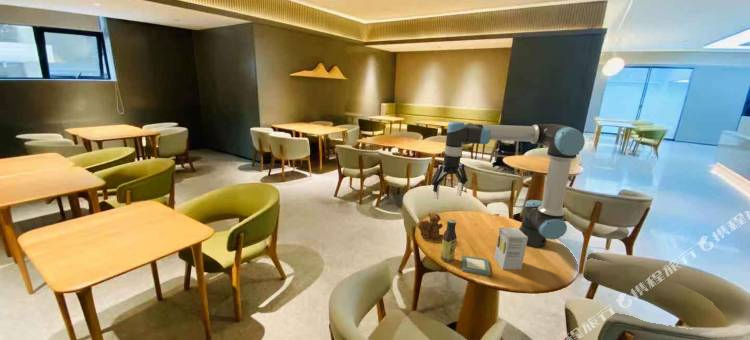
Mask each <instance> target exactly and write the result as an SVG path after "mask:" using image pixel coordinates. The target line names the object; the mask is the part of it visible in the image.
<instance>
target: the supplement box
mask: <svg viewBox="0 0 750 340" xmlns="http://www.w3.org/2000/svg"><path fill="white" fill-rule="evenodd" d="M498 231H499V232H498V236H497V243H496V248H495V253H494V260H495V262H497V264H498V265H499V267H500V268H501V269H502V270H522V267H523V263H524V257H525V252H526V249H527V240H528V237H527V236H526V235H525V234H524V233H522V232H521V231H520V230H519V227H499V230H498Z"/></svg>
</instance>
